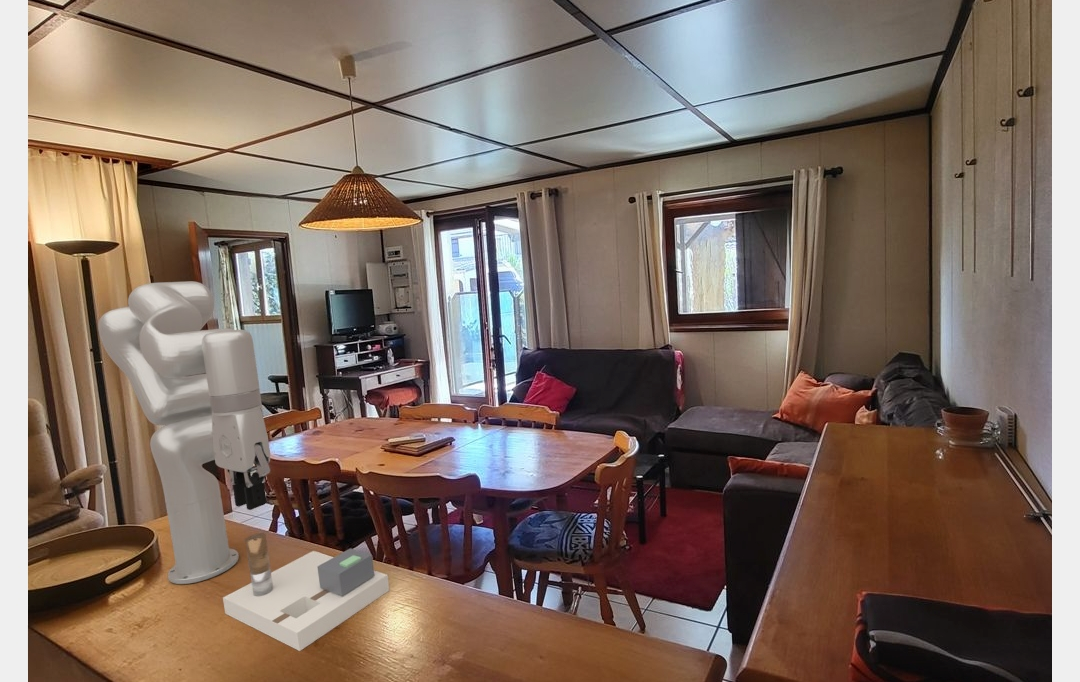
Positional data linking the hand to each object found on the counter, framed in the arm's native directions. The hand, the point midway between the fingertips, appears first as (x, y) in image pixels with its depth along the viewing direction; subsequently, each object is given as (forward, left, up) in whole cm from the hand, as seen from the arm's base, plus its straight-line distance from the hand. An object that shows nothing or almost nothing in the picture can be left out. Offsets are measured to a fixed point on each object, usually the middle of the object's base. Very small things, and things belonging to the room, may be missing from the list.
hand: (251, 504), depth 94 cm
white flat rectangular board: (+6, +4, -19) cm, 21 cm away
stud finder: (+12, +8, -16) cm, 22 cm away
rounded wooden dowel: (0, 0, -16) cm, 16 cm away
